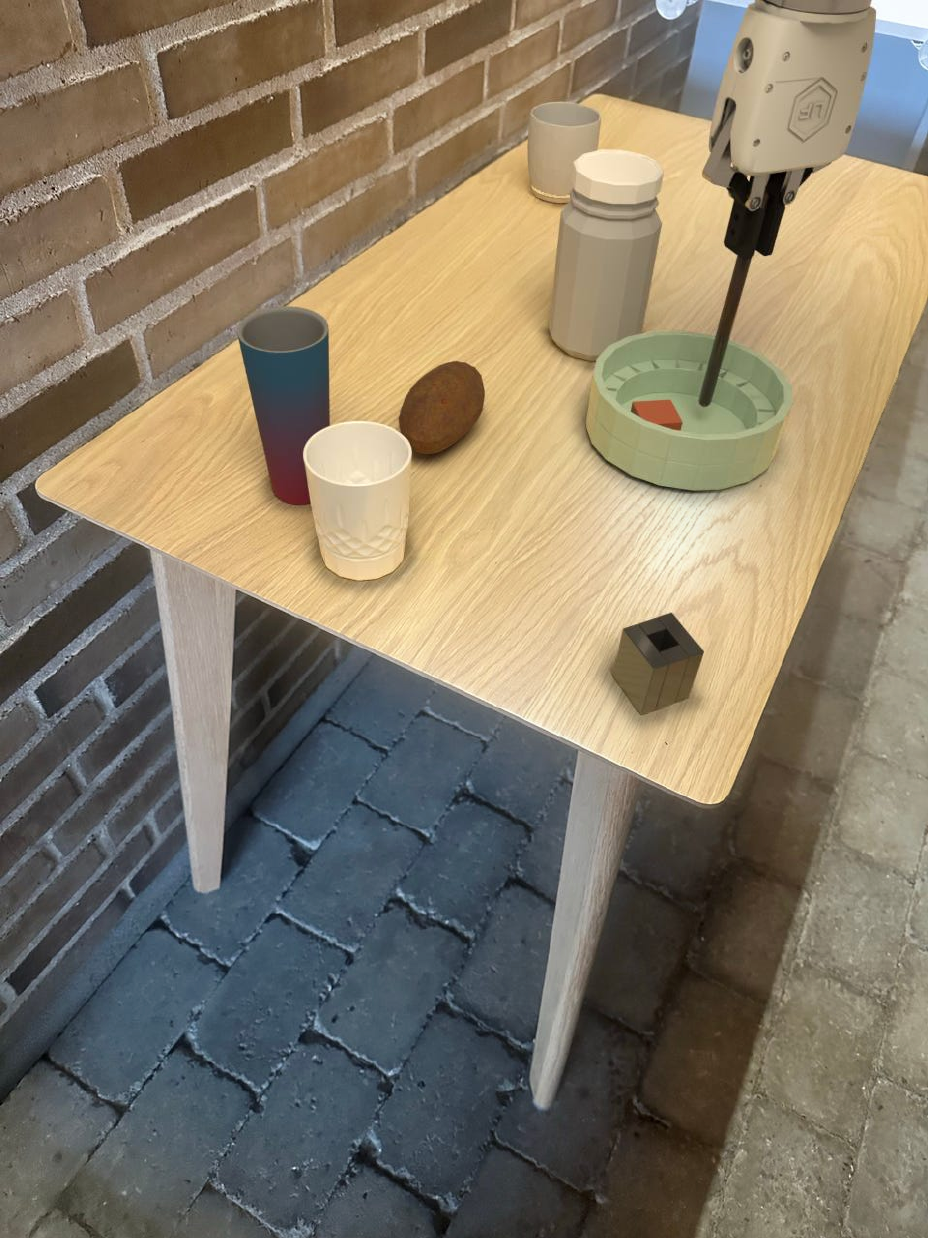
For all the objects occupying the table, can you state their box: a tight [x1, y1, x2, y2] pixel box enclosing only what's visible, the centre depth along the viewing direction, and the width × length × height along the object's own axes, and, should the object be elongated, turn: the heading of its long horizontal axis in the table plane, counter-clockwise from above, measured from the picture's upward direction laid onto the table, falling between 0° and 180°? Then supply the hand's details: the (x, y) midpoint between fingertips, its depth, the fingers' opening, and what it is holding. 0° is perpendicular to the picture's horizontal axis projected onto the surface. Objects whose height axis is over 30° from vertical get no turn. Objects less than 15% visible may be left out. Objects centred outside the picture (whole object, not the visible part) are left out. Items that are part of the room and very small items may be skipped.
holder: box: [612, 612, 705, 716], centre depth 65 cm, size 4×4×5 cm
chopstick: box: [698, 188, 770, 407], centre depth 80 cm, size 1×1×20 cm
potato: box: [398, 360, 486, 455], centre depth 84 cm, size 7×12×7 cm, turn 159°
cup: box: [236, 305, 331, 506], centre depth 76 cm, size 7×7×15 cm
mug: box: [526, 101, 602, 204], centre depth 123 cm, size 13×9×10 cm
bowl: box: [585, 329, 794, 491], centre depth 86 cm, size 18×18×6 cm
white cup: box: [303, 420, 413, 582], centre depth 72 cm, size 8×8×10 cm
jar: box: [548, 148, 665, 362], centre depth 93 cm, size 10×10×18 cm
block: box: [631, 400, 683, 431], centre depth 85 cm, size 4×4×4 cm
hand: (747, 249), depth 76 cm, fingers closed on chopstick, 1 cm apart
